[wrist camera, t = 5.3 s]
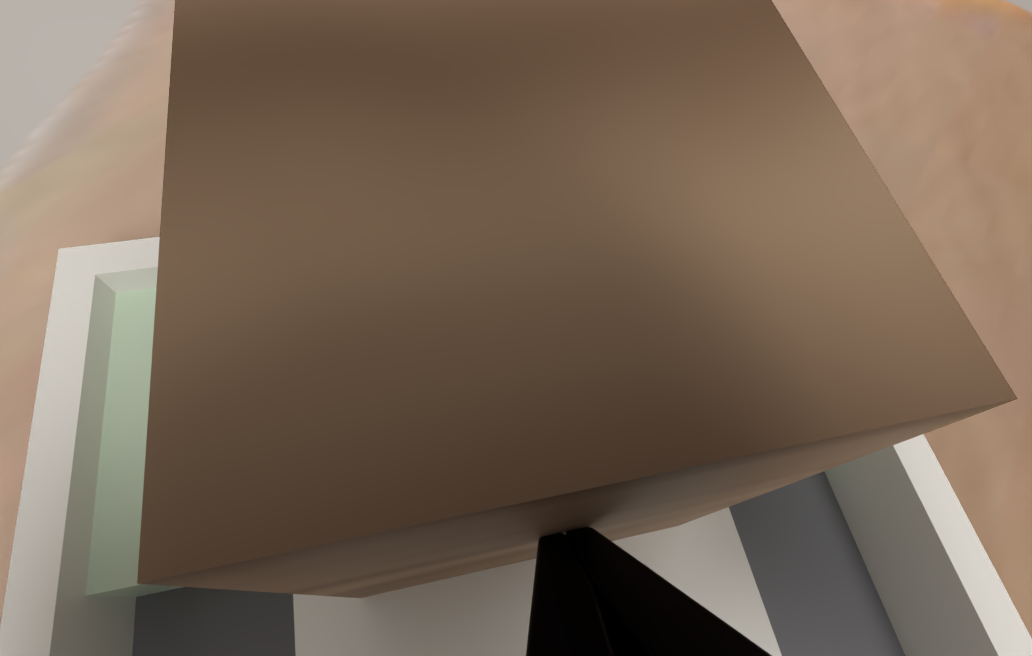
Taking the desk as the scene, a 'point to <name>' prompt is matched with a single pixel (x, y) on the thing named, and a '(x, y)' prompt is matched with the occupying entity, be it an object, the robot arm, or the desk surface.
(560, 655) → the robot arm
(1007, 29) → the desk surface
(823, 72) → the desk surface
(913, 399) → the walnut block
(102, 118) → the desk surface
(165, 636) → the box
